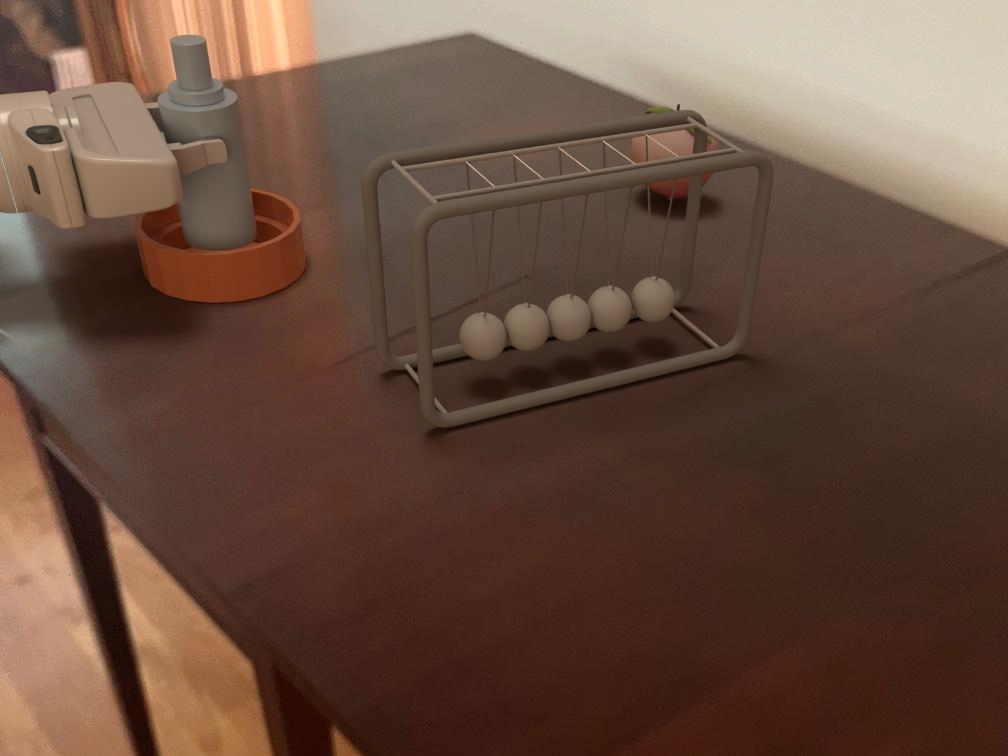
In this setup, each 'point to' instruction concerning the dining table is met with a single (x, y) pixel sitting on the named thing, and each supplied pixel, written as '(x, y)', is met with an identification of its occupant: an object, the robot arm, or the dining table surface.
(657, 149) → the decorative fruit
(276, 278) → the bowl
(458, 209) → the newton's cradle
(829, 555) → the dining table surface
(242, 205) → the bottle
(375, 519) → the dining table surface
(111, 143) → the robot arm
